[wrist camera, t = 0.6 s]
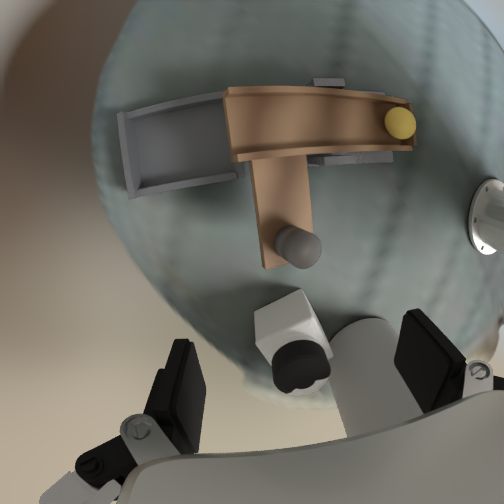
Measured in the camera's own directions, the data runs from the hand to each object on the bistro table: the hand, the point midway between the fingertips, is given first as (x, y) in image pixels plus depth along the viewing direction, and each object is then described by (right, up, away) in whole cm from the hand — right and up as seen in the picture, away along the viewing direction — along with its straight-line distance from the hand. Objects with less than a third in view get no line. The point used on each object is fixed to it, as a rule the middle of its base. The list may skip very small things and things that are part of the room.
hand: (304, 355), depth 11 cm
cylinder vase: (+15, -11, +28) cm, 34 cm away
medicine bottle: (+3, -5, +26) cm, 27 cm away
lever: (+6, +12, +14) cm, 19 cm away
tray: (-10, +17, +18) cm, 26 cm away
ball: (+13, +18, +12) cm, 25 cm away
